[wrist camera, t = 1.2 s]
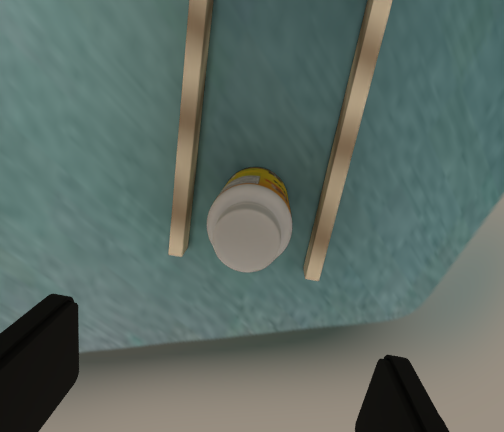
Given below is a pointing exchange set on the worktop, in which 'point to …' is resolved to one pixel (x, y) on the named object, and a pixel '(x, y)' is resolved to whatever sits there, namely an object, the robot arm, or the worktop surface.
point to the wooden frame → (342, 143)
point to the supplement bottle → (250, 220)
